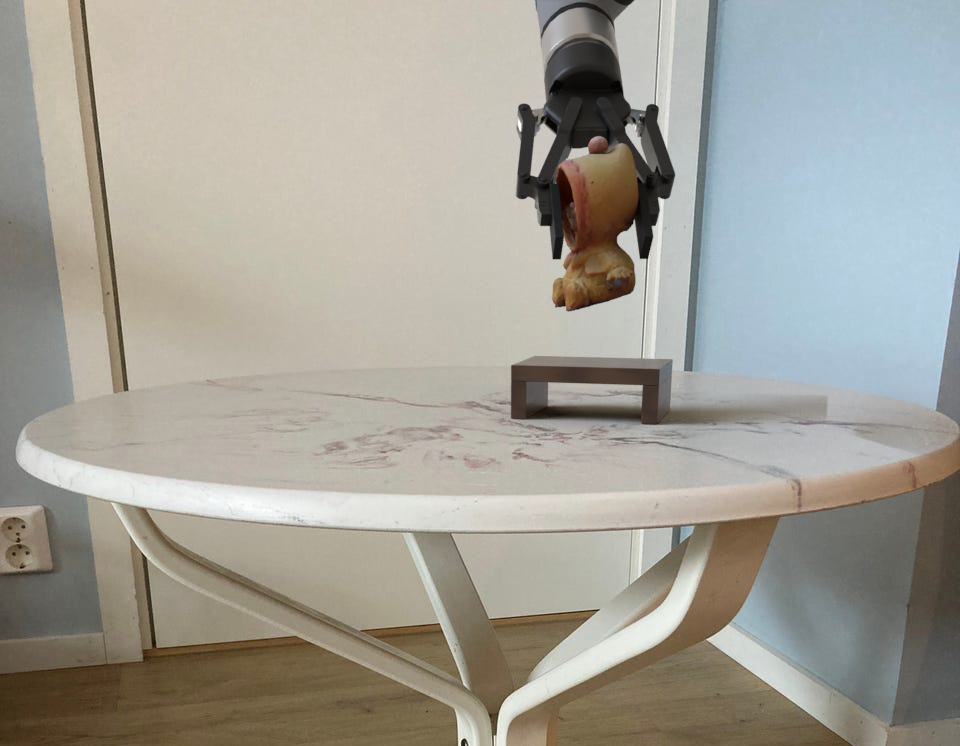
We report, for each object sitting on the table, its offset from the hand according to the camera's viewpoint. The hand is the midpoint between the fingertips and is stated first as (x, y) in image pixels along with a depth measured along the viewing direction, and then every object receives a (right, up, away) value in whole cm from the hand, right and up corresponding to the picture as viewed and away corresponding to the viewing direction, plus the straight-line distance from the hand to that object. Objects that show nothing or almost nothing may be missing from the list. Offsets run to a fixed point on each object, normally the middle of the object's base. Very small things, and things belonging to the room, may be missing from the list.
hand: (602, 247), depth 99 cm
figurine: (0, -4, +5) cm, 7 cm away
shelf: (0, -13, +8) cm, 16 cm away
